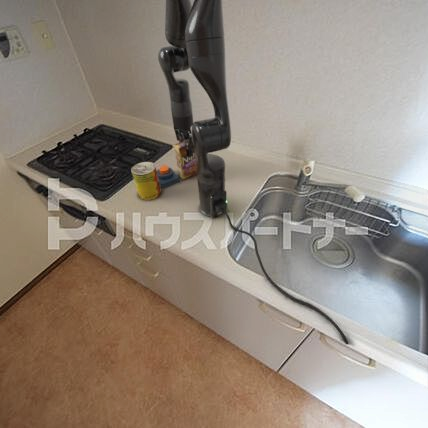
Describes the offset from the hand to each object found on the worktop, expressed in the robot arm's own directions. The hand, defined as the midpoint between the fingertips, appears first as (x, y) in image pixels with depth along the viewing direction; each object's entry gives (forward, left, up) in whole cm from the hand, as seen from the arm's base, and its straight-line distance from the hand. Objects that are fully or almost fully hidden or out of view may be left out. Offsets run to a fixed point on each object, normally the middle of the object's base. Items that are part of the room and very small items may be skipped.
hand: (187, 153), depth 98 cm
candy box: (0, 0, -10) cm, 10 cm away
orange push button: (+3, +10, -10) cm, 15 cm away
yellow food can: (-1, +20, -10) cm, 22 cm away
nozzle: (+3, +10, -7) cm, 12 cm away
